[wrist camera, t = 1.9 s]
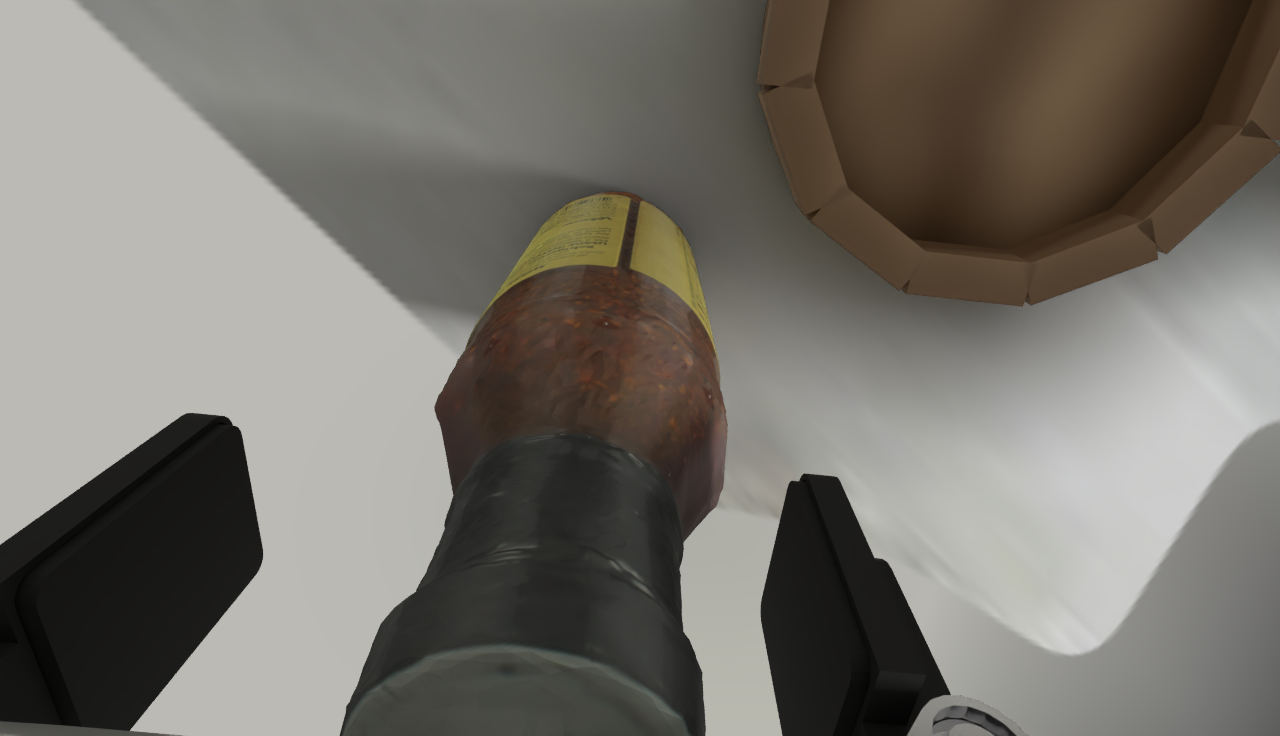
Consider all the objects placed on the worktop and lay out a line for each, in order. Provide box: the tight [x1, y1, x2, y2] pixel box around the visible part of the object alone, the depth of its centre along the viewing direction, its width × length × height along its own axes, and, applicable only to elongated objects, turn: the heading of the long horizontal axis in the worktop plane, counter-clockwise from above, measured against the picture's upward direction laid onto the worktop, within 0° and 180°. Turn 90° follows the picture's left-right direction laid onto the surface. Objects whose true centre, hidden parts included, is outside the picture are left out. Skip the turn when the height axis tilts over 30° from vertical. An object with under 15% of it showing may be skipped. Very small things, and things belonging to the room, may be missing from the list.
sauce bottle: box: [340, 191, 728, 736], centre depth 16 cm, size 7×6×20 cm
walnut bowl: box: [756, 0, 1280, 306], centre depth 20 cm, size 16×16×3 cm
